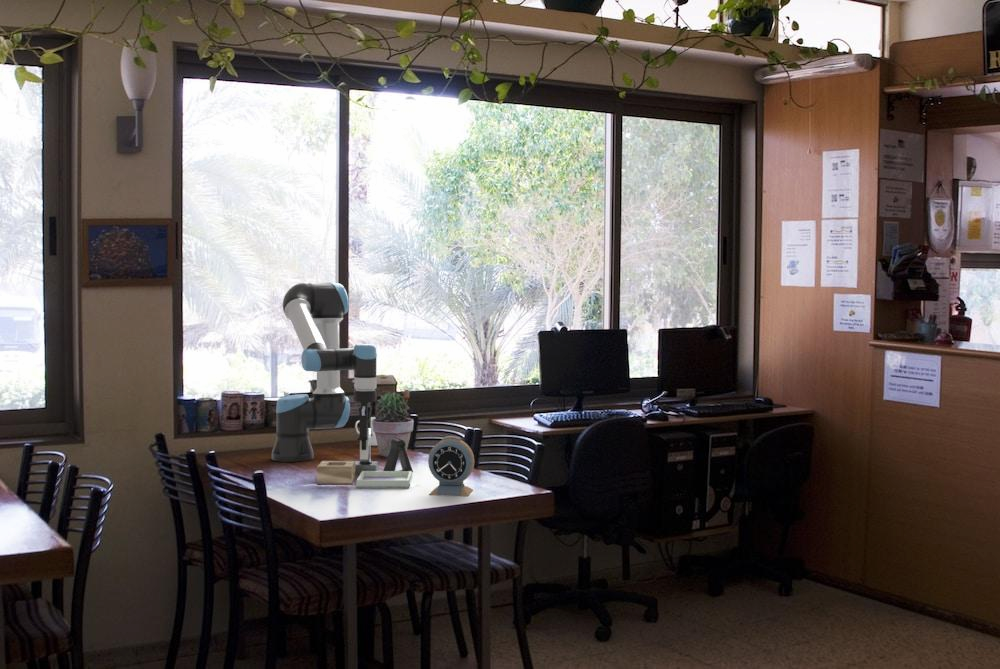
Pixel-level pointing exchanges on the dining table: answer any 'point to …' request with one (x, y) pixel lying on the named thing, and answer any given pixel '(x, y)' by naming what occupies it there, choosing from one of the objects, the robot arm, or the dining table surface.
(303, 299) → the robot arm
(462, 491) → the alarm clock
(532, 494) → the dining table surface
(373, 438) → the white pitcher
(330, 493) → the dining table surface
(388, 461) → the dark grey a-frame stand
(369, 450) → the white peg
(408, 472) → the tray
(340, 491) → the dining table surface
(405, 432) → the potted plant
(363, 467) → the gauge stand
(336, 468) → the bore block
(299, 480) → the dining table surface
